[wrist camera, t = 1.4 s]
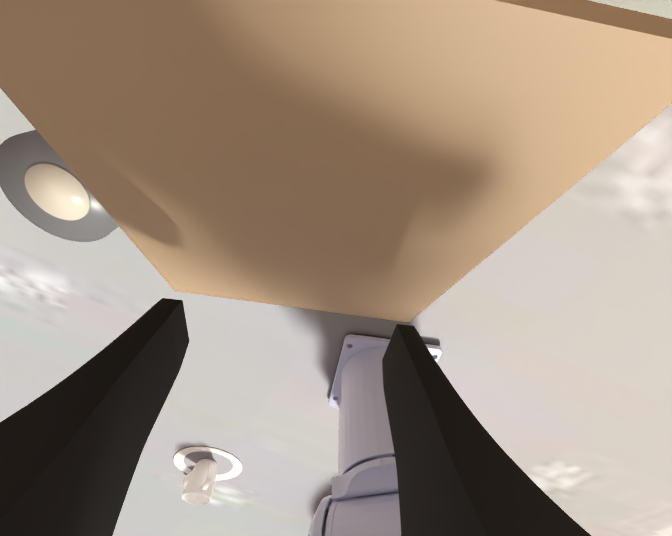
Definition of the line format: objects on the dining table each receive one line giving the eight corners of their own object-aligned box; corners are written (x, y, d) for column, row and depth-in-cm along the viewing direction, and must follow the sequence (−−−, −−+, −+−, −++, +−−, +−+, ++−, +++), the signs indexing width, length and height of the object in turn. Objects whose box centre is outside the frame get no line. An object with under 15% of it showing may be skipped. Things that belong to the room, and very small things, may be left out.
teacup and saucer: (207, 482, 42) (195, 520, 39) (156, 457, 39) (139, 496, 35) (257, 464, 39) (248, 503, 36) (207, 435, 36) (193, 475, 32)
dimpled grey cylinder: (172, 207, 20) (127, 249, 16) (88, 194, 20) (18, 234, 16) (161, 122, 17) (102, 145, 13) (63, 104, 17) (-30, 123, 13)
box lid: (408, 311, 18) (408, 322, 18) (178, 280, 17) (174, 291, 17) (716, 29, 5) (733, 52, 5) (-169, -170, 4) (-209, -155, 4)
